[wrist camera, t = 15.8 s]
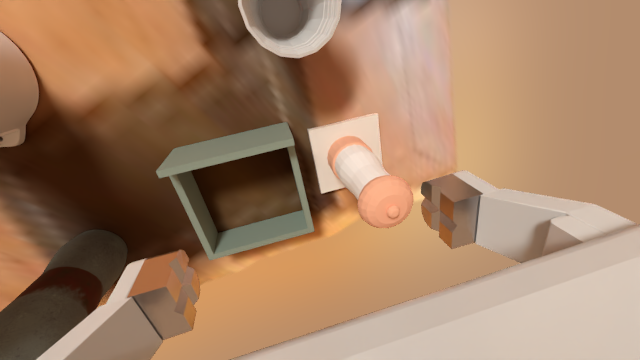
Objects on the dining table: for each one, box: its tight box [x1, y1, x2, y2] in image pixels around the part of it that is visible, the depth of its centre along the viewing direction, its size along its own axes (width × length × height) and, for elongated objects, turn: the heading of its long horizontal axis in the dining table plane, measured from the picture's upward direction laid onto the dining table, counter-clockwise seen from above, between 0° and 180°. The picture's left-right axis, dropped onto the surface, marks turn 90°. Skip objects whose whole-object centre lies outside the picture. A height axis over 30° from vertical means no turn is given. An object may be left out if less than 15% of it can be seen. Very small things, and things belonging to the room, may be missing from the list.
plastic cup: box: [238, 0, 341, 58], centre depth 34 cm, size 11×11×12 cm
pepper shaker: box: [327, 136, 413, 228], centre depth 41 cm, size 7×7×19 cm
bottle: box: [0, 229, 128, 360], centre depth 36 cm, size 9×9×30 cm
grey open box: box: [156, 122, 314, 260], centre depth 45 cm, size 18×18×9 cm
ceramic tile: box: [307, 113, 382, 194], centre depth 50 cm, size 12×12×1 cm
